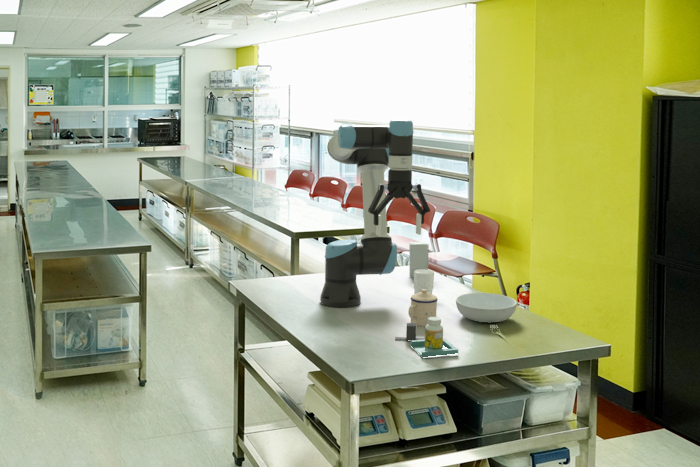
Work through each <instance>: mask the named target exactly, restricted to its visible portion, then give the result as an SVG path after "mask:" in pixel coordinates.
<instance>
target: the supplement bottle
mask: <svg viewBox="0 0 700 467" xmlns="http://www.w3.org/2000/svg"><path fill="white" fill-rule="evenodd" d="M427 322H428V324H427V325H426V326H424V338H425V349H426V350H427V351H429V350H442V348H443V338H444V326H443V325H442V318H441V317H439V316H436V317H429V318H428V321H427Z"/></svg>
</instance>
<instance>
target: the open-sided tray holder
mask: <svg viewBox="0 0 700 467" xmlns="http://www.w3.org/2000/svg"><path fill="white" fill-rule="evenodd" d="M443 345H444V346H445V347H447V348H448V349H442V350H429V351H427V350H426V349H425V340H412V341H410V347H411V346H412V347H413V348H414V349H415V350H416V351H417V352H418V353H419V354H420V355H421V356H422V357H428V356H436V355H447V354H455V353H458V354H459V349H458V348H457V347H456V346H455V345H453V344H452V343H451V342H450V341H448V340H447V338H445V337H443ZM421 356H420V357H421ZM422 357H421V358H422Z"/></svg>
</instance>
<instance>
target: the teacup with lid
mask: <svg viewBox="0 0 700 467" xmlns="http://www.w3.org/2000/svg"><path fill="white" fill-rule="evenodd" d="M410 300H411V301H410V304H411V305H410V306H409V307H408V316H409V318H410V323H416V326H419V327H425V326H426V324H428V322H427V321H428V318H429V317H437V309H438V308H437V305H438V304H437V302H438V297H437V295H435V294H433V293H432V294H430V293H429V292H427V290H426V289H422V290H421V292H419V293H417V294H412V295H411V296H410Z"/></svg>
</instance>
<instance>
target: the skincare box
mask: <svg viewBox="0 0 700 467" xmlns="http://www.w3.org/2000/svg"><path fill="white" fill-rule="evenodd" d="M419 269H426V270H429V242H428V241H409V276H410V277H409V278H414V271H415V270H419Z"/></svg>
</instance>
